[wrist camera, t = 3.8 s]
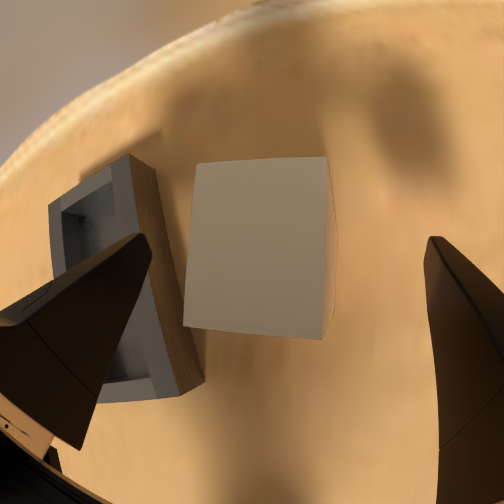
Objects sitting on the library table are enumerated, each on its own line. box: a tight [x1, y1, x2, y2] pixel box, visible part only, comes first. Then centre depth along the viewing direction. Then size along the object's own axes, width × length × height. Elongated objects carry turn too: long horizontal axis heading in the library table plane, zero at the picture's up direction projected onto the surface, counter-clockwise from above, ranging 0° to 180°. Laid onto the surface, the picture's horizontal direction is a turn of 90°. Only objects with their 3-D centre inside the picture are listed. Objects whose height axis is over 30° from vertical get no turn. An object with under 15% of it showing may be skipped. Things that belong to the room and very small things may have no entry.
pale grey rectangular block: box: [183, 157, 337, 340], centre depth 12 cm, size 4×3×10 cm
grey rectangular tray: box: [48, 153, 205, 403], centre depth 18 cm, size 14×8×3 cm, turn 16°
